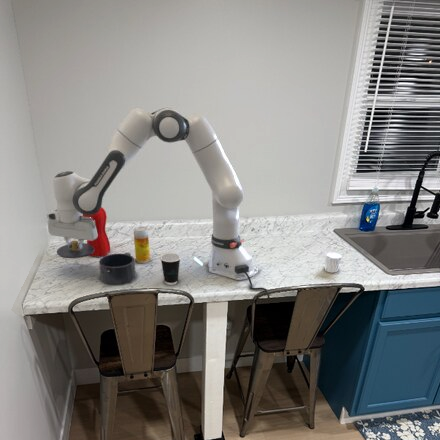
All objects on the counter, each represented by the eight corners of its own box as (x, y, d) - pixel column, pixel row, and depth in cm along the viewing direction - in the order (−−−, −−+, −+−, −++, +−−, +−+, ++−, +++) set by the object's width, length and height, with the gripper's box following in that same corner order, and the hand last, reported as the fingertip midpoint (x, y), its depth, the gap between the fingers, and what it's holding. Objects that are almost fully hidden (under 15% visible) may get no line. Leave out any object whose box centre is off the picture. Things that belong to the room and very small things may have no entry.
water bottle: (114, 248, 190) (108, 196, 177) (104, 258, 180) (98, 203, 168) (95, 247, 191) (88, 194, 179) (85, 256, 181) (77, 201, 169)
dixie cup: (171, 275, 167) (170, 251, 161) (185, 281, 163) (184, 256, 157) (157, 282, 161) (155, 257, 156) (171, 288, 157) (170, 263, 152)
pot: (143, 269, 171) (142, 253, 167) (122, 290, 155) (121, 272, 151) (115, 265, 174) (113, 249, 170) (91, 284, 158) (88, 267, 154)
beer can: (147, 264, 176) (144, 231, 169) (133, 262, 177) (131, 230, 169) (151, 258, 181) (149, 227, 174) (139, 257, 182) (136, 225, 175)
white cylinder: (330, 274, 173) (332, 259, 169) (319, 268, 178) (322, 253, 174) (342, 271, 175) (345, 256, 172) (331, 265, 181) (334, 250, 177)
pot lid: (101, 248, 169) (100, 237, 167) (82, 261, 157) (80, 250, 154) (70, 243, 172) (69, 233, 170) (49, 256, 160) (47, 245, 158)
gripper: (98, 215, 157) (102, 248, 164) (52, 209, 162) (58, 241, 168) (89, 220, 152) (94, 254, 159) (42, 214, 156) (49, 247, 163)
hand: (75, 247), depth 163 cm, fingers closed on pot lid, 2 cm apart
